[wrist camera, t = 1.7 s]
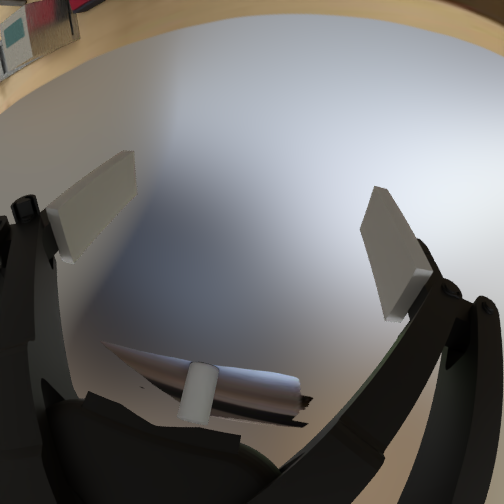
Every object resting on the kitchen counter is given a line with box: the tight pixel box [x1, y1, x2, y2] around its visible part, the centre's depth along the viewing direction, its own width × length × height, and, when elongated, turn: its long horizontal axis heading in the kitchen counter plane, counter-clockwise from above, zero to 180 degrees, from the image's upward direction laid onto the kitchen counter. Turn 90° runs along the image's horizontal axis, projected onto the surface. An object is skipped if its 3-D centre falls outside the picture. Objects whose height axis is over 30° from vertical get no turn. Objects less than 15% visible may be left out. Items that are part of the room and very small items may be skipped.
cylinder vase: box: [177, 362, 219, 425], centre depth 104 cm, size 12×12×25 cm
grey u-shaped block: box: [0, 0, 80, 82], centre depth 20 cm, size 8×25×10 cm, turn 92°
